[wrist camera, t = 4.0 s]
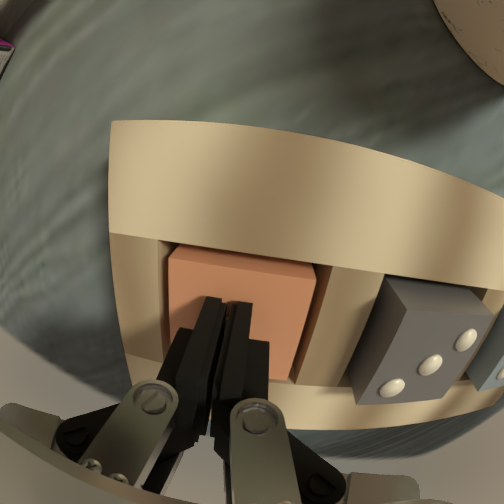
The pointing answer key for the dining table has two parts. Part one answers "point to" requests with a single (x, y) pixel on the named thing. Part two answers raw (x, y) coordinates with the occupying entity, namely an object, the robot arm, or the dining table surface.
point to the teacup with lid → (478, 31)
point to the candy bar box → (5, 54)
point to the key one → (244, 295)
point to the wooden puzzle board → (297, 246)
